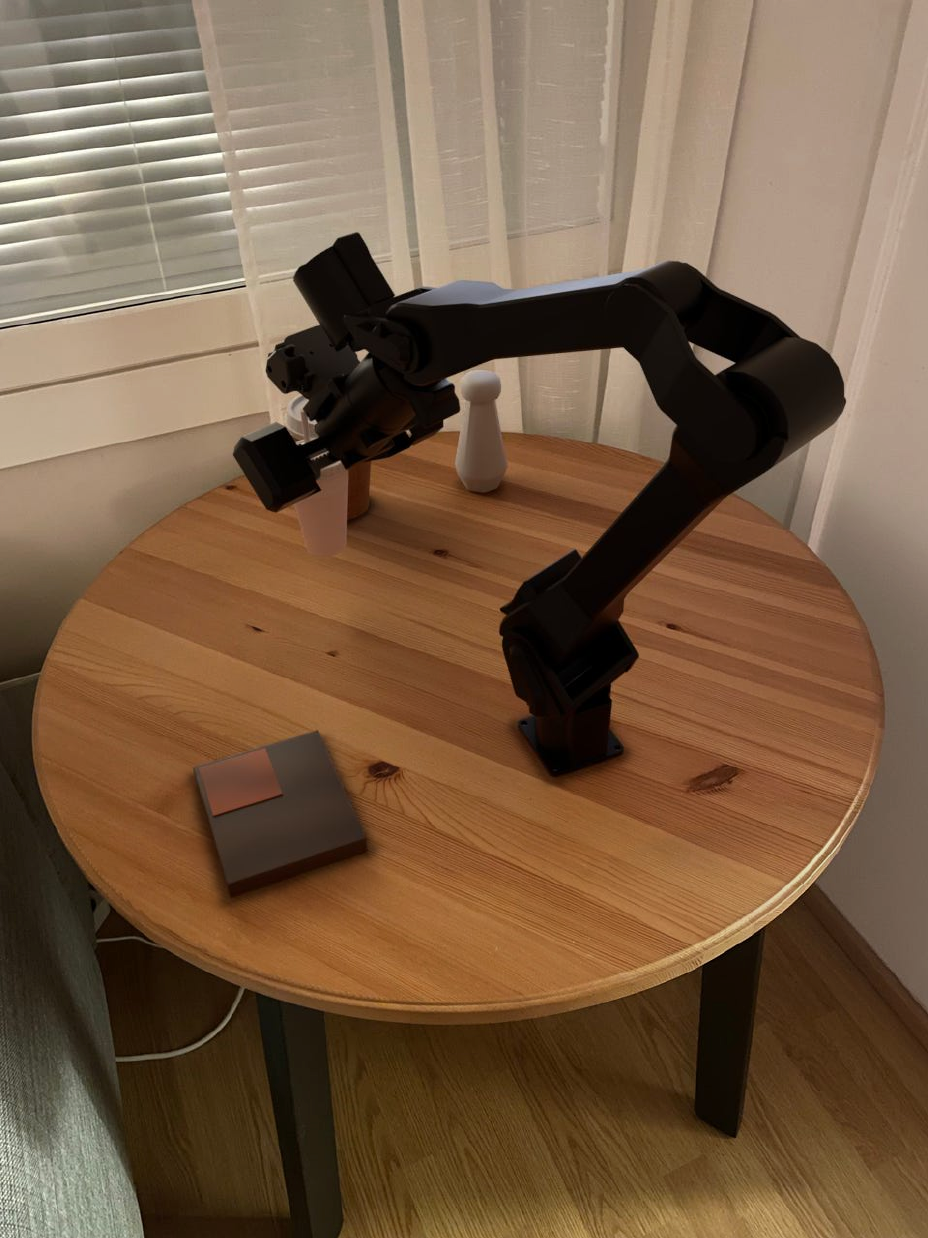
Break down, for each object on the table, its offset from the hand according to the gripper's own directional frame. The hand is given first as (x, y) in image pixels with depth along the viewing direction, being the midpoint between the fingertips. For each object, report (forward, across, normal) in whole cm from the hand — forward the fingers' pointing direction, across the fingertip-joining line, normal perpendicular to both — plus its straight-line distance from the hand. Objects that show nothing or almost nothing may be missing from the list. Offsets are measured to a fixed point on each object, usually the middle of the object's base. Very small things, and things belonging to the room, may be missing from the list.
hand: (308, 474), depth 90 cm
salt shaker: (+10, -25, +7) cm, 28 cm away
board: (-5, +21, +23) cm, 32 cm away
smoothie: (+4, 0, +6) cm, 7 cm away
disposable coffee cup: (+16, -11, +2) cm, 19 cm away
